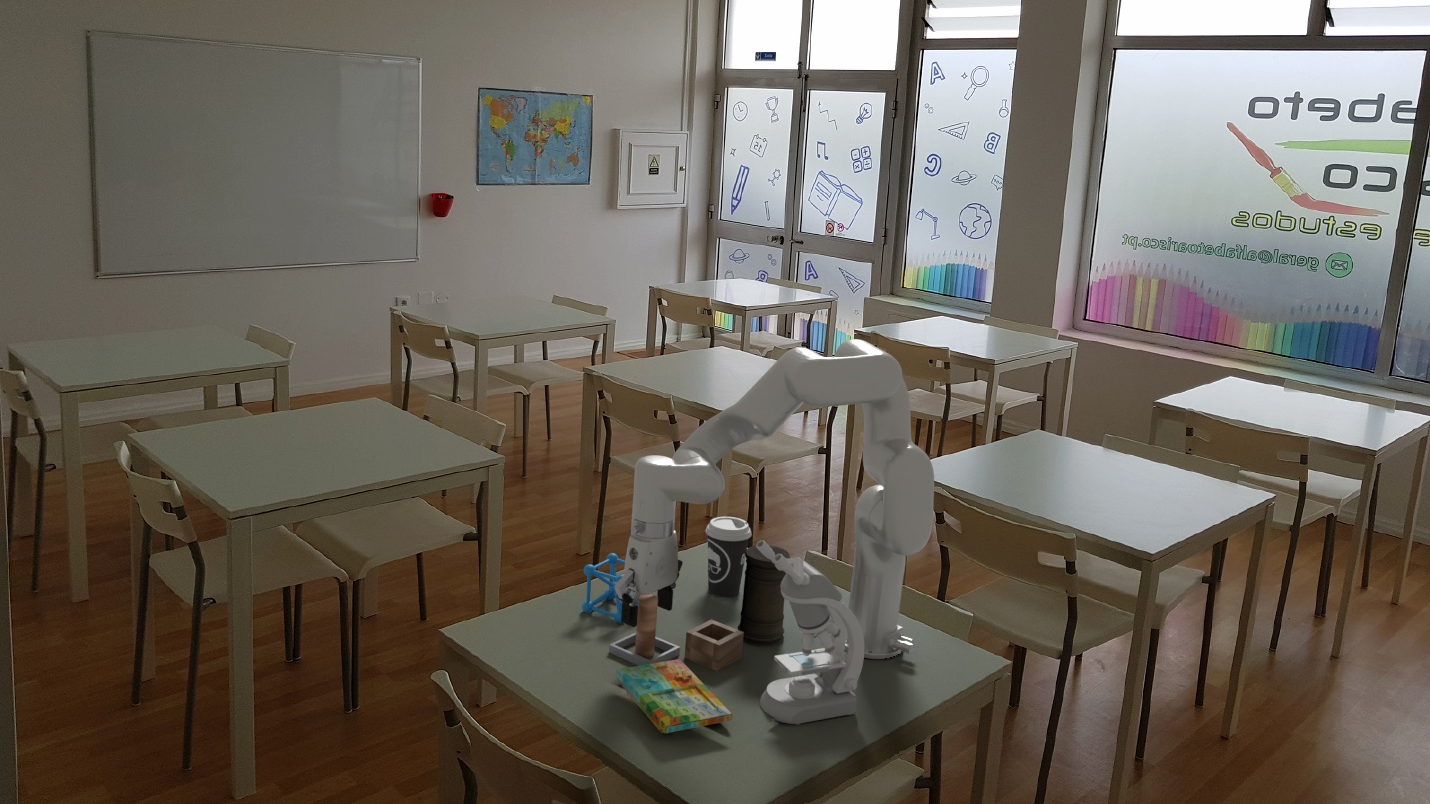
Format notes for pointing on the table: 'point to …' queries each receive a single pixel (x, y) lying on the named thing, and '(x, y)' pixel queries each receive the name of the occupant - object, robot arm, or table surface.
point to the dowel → (646, 625)
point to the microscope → (833, 676)
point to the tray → (618, 650)
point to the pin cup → (714, 645)
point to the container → (762, 600)
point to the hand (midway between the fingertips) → (646, 616)
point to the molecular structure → (610, 593)
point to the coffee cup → (726, 554)
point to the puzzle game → (672, 696)
